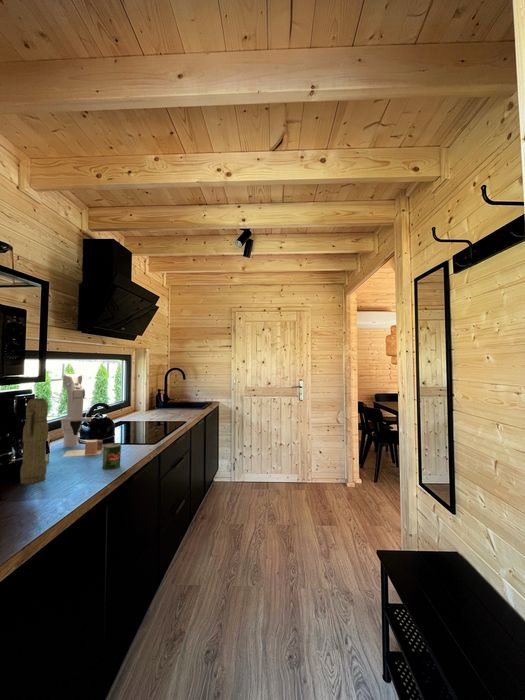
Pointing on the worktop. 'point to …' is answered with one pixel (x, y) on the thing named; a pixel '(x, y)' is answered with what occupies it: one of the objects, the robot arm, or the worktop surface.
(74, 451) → the board
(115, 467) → the canned tomato
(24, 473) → the tan tall block
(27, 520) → the worktop surface
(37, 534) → the worktop surface
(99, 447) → the walnut post
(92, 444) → the tan wooden block
